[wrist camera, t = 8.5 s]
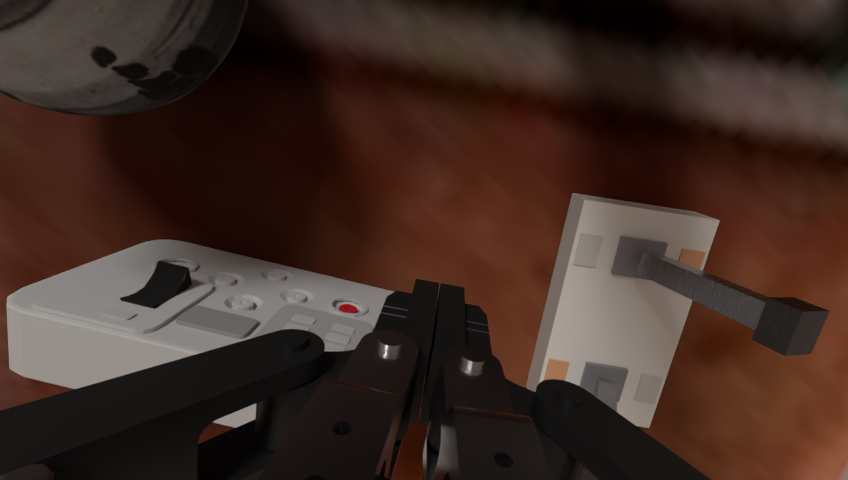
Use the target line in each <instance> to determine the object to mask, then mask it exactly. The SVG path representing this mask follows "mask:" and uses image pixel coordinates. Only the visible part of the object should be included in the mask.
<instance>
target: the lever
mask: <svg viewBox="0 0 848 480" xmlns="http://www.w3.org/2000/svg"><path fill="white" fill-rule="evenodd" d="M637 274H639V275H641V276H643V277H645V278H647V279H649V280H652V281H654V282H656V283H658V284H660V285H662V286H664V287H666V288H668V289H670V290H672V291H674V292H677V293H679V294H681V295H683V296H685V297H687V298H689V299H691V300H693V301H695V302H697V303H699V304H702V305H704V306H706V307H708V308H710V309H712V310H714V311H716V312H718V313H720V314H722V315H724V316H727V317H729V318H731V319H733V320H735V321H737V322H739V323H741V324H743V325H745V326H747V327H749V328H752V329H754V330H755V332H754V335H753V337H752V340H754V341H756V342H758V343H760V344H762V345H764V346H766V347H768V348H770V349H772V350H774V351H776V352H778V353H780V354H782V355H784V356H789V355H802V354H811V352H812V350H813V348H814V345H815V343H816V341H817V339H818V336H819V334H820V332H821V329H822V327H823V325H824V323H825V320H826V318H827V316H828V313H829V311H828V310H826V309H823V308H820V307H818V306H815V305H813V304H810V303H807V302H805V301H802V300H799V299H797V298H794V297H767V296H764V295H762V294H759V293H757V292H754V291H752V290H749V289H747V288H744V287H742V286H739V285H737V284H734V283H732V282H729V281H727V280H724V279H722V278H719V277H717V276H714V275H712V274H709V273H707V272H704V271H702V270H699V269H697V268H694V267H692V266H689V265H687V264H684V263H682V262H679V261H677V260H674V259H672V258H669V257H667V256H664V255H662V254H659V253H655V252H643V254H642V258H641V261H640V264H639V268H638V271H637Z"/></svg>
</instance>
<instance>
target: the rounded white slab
mask: <svg viewBox="0 0 848 480" xmlns="http://www.w3.org/2000/svg"><path fill="white" fill-rule="evenodd" d="M392 293H394V292H393V291H389V290H385V289H381V288H377V287H373V286H368V285H364V284H360V283H356V282H352V281H348V280H343V279H339V278H335V277H331V276H327V275H322V274H318V273H314V272H310V271H306V270H301V269H297V268H293V267H289V266H285V265H281V264H276V263H272V262H268V261H264V260H260V259H255V258H251V257H247V256H243V255H239V254H234V253H230V252H226V251H222V250H218V249H213V248H209V247H205V246H201V245H197V244H193V243H188V242H184V241H177V240H152V241H148V242H143V243H141V244H138V245H135V246H133V247H130V248H127V249H125V250H122V251H119V252H117V253H114V254H111V255H109V256H106V257H103V258H101V259H98V260H95V261H93V262H90V263H87V264H85V265H82V266H79V267H77V268H74V269H71V270H69V271H66V272H63V273H60V274H58V275H55V276H52V277H50V278H47V279H44V280H42V281H39V282H36V283H34V284H31V285H28V286H26V287H23V288H21V289H19V290H18V291H16V292H14V293H13V294H11V295H9V296H8V297H7V324H8V345H9V367H10V369H11V370H12V371H14V372H16V373H18V374H20V375H22V376H23V377H27V378H31V379H35V380H39V381H43V382H47V383H51V384H56V385H60V386H64V387H68V388H72V389H78V388H81V387H85V386H88V385H92V384H95V383H99V382H102V381H105V380H109V379H112V378H116V377H119V376H123V375H126V374H130V373H133V372H137V371H140V370H144V369H147V368H150V367H154V366H157V365H161V364H164V363H168V362H171V361H175V360H178V359H182V358H185V357H188V356H192V355H195V354H199V353H202V352H206V351H209V350H213V349H216V348H220V347H223V346H226V345H230V344H233V343H237V342H240V341H244V340H247V339H251V338H254V337H258V336H261V335H265V334H268V333H271V332H275V331H279V330H284V329H300V330H306V331H309V332H312V333H314V334H316V335H318V336H319V337H320V338H322V340H323V341H324V344H325V350H324V351H349V350H353V349H355V348H356V347H357V345H358V343H359V342H360V340H361V339H362V337H363V336H365V335H366V334H368V333H370V332H373V330H374V327H375V325H376V322H377V320H378V317H379V315H380V313H381V310H382V307H383V305H384V302H385V300H386V297H387V296H389V295H390V294H392ZM255 417H256V404H253V405H251V406H249V407H246V408H244V409H241V410H239V411H236V412H234V413H231V414H229V415H227V416H224V417H222V418H219V419H217V420H215V421H214V422H213V423H217V424H221V425H225V426H230V427H234V428H237V427H239V426H241V425H243V424H246V423H248V422H250V421H253V420H255Z"/></svg>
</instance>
